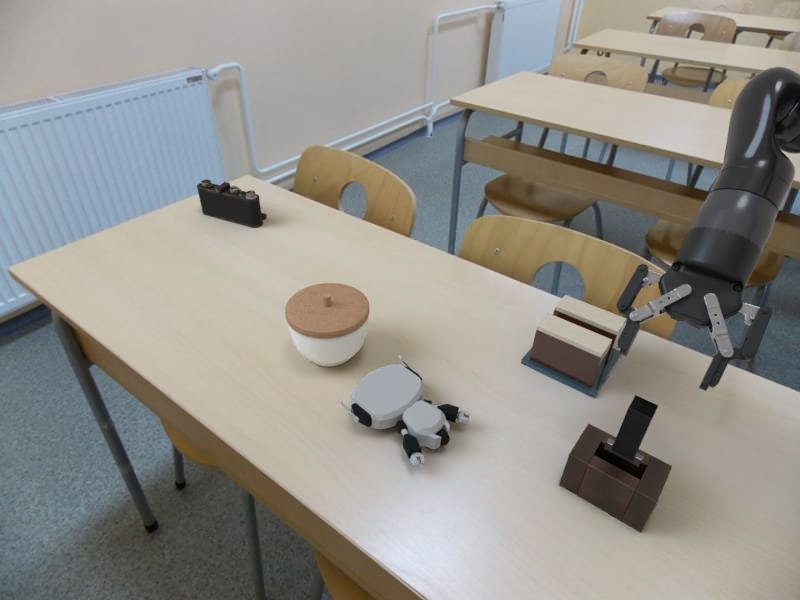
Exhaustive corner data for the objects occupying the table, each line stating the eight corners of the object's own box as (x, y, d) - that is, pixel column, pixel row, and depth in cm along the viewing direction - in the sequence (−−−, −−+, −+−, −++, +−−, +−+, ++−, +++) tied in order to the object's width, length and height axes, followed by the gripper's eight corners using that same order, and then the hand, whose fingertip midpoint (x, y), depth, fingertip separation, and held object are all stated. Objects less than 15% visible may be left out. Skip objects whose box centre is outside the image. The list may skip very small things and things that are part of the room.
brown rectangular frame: (656, 496, 63) (672, 465, 59) (640, 532, 59) (657, 502, 56) (577, 453, 68) (588, 422, 64) (558, 484, 64) (569, 454, 60)
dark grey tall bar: (626, 492, 63) (666, 408, 54) (620, 506, 62) (659, 422, 53) (594, 475, 65) (628, 391, 56) (587, 488, 64) (620, 404, 55)
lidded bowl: (300, 324, 88) (293, 270, 82) (373, 328, 88) (373, 274, 81) (282, 376, 78) (273, 319, 72) (365, 381, 78) (364, 324, 71)
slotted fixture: (621, 355, 84) (635, 318, 79) (594, 398, 76) (607, 359, 71) (552, 326, 90) (561, 290, 85) (520, 362, 82) (528, 325, 77)
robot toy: (472, 428, 72) (394, 370, 79) (478, 407, 69) (396, 349, 76) (414, 484, 64) (334, 415, 72) (418, 463, 62) (334, 393, 69)
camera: (273, 217, 120) (269, 185, 115) (255, 229, 115) (250, 196, 110) (217, 203, 126) (211, 171, 121) (198, 214, 121) (190, 181, 116)
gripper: (658, 208, 58) (595, 338, 57) (808, 250, 51) (737, 398, 50) (658, 233, 64) (601, 349, 64) (790, 273, 57) (727, 404, 57)
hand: (661, 371), depth 57 cm, fingers open, 8 cm apart
